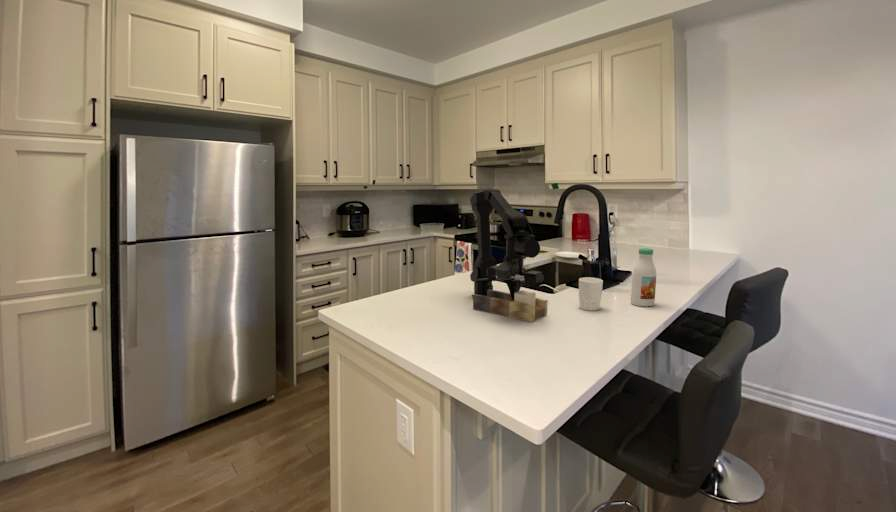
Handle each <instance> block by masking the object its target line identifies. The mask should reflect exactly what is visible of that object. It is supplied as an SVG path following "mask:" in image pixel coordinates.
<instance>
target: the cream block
mask: <svg viewBox="0 0 896 512" xmlns="http://www.w3.org/2000/svg"><path fill="white" fill-rule="evenodd" d="M536 293H537V292H535V291H529V290H528V291H527V290H525V289H524V290H523V289H522V290H521V289H520V290H519V292H516V293H514V302H520V303H525V304H530V305H535V300H536V298H537V297H536V296H537V295H536Z"/></svg>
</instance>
